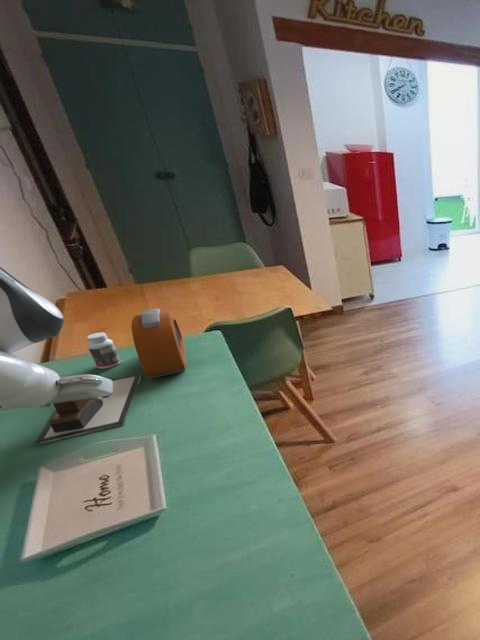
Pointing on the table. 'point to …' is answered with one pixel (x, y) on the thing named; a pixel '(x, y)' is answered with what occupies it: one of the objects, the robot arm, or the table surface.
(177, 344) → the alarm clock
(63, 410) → the eraser
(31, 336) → the robot arm
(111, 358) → the pill bottle
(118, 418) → the whiteboard
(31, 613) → the table surface
